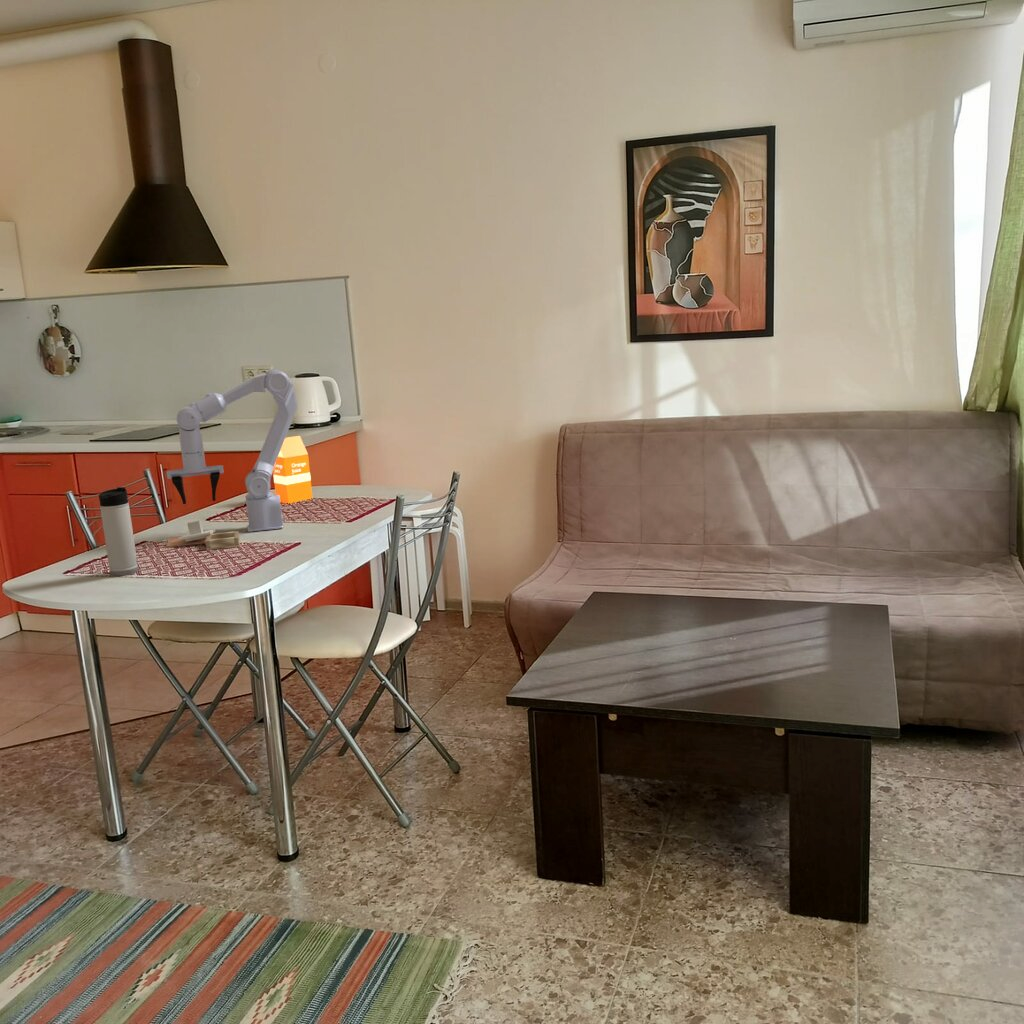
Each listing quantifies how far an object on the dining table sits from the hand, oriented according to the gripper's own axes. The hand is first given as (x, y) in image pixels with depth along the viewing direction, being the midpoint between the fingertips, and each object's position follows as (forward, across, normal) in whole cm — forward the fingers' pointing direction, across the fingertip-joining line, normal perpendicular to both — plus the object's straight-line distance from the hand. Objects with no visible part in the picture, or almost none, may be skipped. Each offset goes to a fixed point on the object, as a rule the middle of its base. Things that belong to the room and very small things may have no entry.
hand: (199, 501), depth 265 cm
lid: (+8, +1, +8) cm, 11 cm away
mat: (+9, +4, +5) cm, 11 cm away
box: (+9, -5, +15) cm, 19 cm away
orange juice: (+10, -26, -38) cm, 48 cm away
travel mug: (+9, +17, +33) cm, 38 cm away
